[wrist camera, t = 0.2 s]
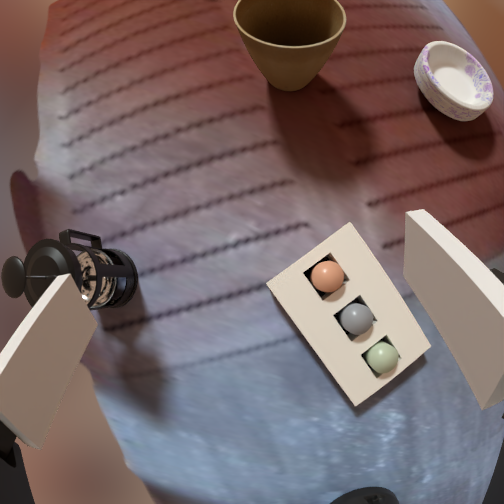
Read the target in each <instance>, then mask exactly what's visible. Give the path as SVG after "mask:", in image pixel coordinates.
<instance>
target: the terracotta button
mask: <svg viewBox="0 0 504 504" xmlns="http://www.w3.org/2000/svg"><path fill="white" fill-rule="evenodd" d="M343 280H344V273H343V270H342V268H341V267H340V265H338V264H337V263H335V262H333V261H324V262H321V263H318V264H316V265H315V266H314V267H313V268H312V270H311V272H310V281H311V284H312V285H313V286H314V287H315V288H316V289H318V290H320V291H324V292H333V291H336V290H337V289H338V288H339V287H340V286H341V285H342V283H343Z"/></svg>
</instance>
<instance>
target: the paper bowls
mask: <svg viewBox="0 0 504 504" xmlns="http://www.w3.org/2000/svg"><path fill="white" fill-rule="evenodd" d="M414 75H415V79H416V82H417V84H418V86H419V88H420V89H421V91H422V93H423V95H424V96H425V97H426V98H427V100H428V101H429V102H430V103H431V104H432V105H433V106H434V107H435V108H437V109H438V110H439V111H440V112H442V113H444V114H445V115H447V116H449V117H451V118H453V119H456V120H459V121H471V120H473V119H475V118H477V117H478V116H479V115H481V114H482V113H483V112H484V111H485V110H486V109H487V108H488V107H489V106H490V105H491V103H492V100H493V87H492V84H491V81H490V79H489V76H488V75H487V73H486V71H485V70H484V68H483V67H482V66H481V64H480V63H479V62H478V61H477V60H476V59H475V58H474V57H473V56H472V55H471V54H469V53H468V52H467V51H465V50H464V49H462V48H460V47H458V46H456V45H454V44H452V43H448V42H444V41H435V42H431V43H429V44H427V45H426V46H425V47H424V49H423V50H422V52H421V54H420V56H419V57H418V59H417V61H416V63H415V66H414Z"/></svg>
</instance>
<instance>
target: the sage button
mask: <svg viewBox="0 0 504 504" xmlns="http://www.w3.org/2000/svg"><path fill="white" fill-rule="evenodd" d="M364 359H365V361H366V362H367V363H368V364H369V365H370V366H371V367H372V368H373V369H374V370H375V371H376V372H378V373H387V372H390V371H391V370H393V369H394V368H395V366H396V365H397V362H398V352H397V350H396V349H395V348H394V347H393V346H391V345H389V344H387V343H386V342H384V341H382V340H379V341H378V342H377V343H375V344H374V345H373V346H371V347H370V348H369V349H368V350H366V351H365V352H364Z"/></svg>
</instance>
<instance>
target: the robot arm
mask: <svg viewBox="0 0 504 504" xmlns="http://www.w3.org/2000/svg"><path fill="white" fill-rule="evenodd" d="M403 277H404V278H405V280H406V281H407V283H408V284H409V286H410V287H411V289H412V290H413V292H414V293H415V295H416V296H417V298H418V299H419V301H420V302H421V304H422V305H423V307H424V308H425V310H426V312H427V313H428V315H429V316H430V318H431V320H432V321H433V323H434V324H435V326H436V328H437V329H438V331H439V333H440V334H441V336H442V338H443V339H444V341H445V343H446V344H447V346H448V348H449V349H450V351H451V353H452V355H453V356H454V358H455V360H456V362H457V364H458V365H459V367H460V369H461V371H462V373H463V374H464V376H465V378H466V380H467V382H468V384H469V386H470V387H471V389H472V391H473V393H474V395H475V397H476V399H477V401H478V403H479V405H480V407H481V409H482V410H484V409H486V408H489V407H491V406H493V405H495V404H497V403H499V402H501V401H503V399H504V273H502V272H500V271H499V270H497V269H495V268H494V269H491V270H489V269H488V268H487V267H486V266H485V265H484V264H483V263H482V262H481V261H480V260H479V259H478V258H477V257H476V256H475V255H474V254H473V253H472V252H471V251H470V250H469V249H468V248H467V247H465V246H464V245H463V244H462V243H461V242H460V241H459V240H458V239H457V238H456V237H455V236H454V235H452V234H451V233H450V232H449V231H448V230H447V229H446V228H445V227H444V226H442V225H441V224H440V223H439V222H438V221H437V220H436V219H434V218H433V217H432V216H431V215H430V214H429V213H427V212H426V211H425V210H424V209H421V210H415V211H409V212H406V218H405V252H404V270H403ZM97 325H98V324H97V322H96V321H95V319H94V317H93V315H92V314H91V312H90V310H89V308H88V306H87V305H86V303H85V301H84V299H83V297H82V295H81V293H80V291H79V289H78V288H77V286H76V284H75V282H74V280H73V278H72V276H71V274H65V275H60V276H57V277H56V279H55V280H54V281H53V282H52V284H51V285H50V286H49V287H48V289H47V290H46V291H45V292H44V294H43V295H42V296H41V298H40V299H39V300H38V302H37V303H36V304H35V305H34V307H33V308H32V309H31V311H30V312H29V313H28V315H27V316H26V318H25V319H24V320H23V322H22V323H21V324H20V326H19V327H18V329H17V330H16V332H15V333H14V334H13V336H12V337H11V339H10V340H9V342H8V343H7V345H6V346H5V348H4V349H3V351H2V352H1V354H0V504H35V502H34V499H33V496H32V493H31V489H30V486H29V482H28V478H27V475H26V471H25V467H24V463H23V459H22V454H21V450H20V447H19V445H18V444H17V443H15V442H14V441H15V439H16V437H18V438H19V439H20V440H21V441H22V442H24V443H25V444H26V445H27V446H30V447H33V448H37V449H40V450H41V449H42V447H43V444H44V442H45V439H46V437H47V434H48V432H49V429H50V427H51V424H52V421H53V419H54V417H55V414H56V412H57V410H58V407H59V405H60V403H61V400H62V398H63V396H64V394H65V391H66V389H67V387H68V384H69V383H70V380H71V378H72V376H73V374H74V372H75V370H76V367H77V365H78V363H79V361H80V359H81V357H82V355H83V353H84V351H85V349H86V347H87V345H88V343H89V341H90V339H91V337H92V335H93V333H94V331H95V329H96V327H97ZM502 418H503V419H504V413H503V416H502ZM330 504H399V502H398V500H397V498H396V496H395V494H394V493H393V492H392V491H390V490H388V489H386V488H382V487H366V488H361V489H357V490H354V491H351V492H348V493H346V494H344V495H342V496H340V497H338V498H337V499H335V500H334V501H333V502H331V503H330ZM482 504H504V439H503V443H502V447H501V450H500V454H499V457H498V460H497V464H496V467H495V470H494V473H493V476H492V479H491V482H490V484H489V487H488V490H487V492H486V495H485V498H484V500H483V503H482Z"/></svg>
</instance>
